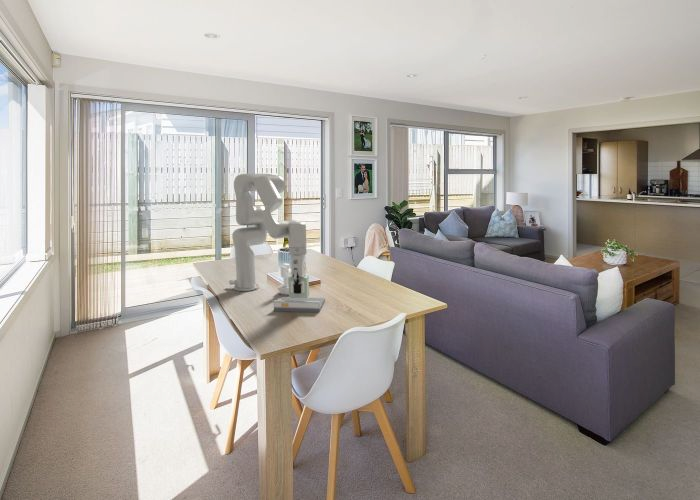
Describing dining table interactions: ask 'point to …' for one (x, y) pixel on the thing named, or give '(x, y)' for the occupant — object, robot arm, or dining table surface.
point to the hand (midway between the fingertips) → (298, 291)
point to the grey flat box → (299, 304)
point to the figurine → (285, 279)
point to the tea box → (304, 287)
